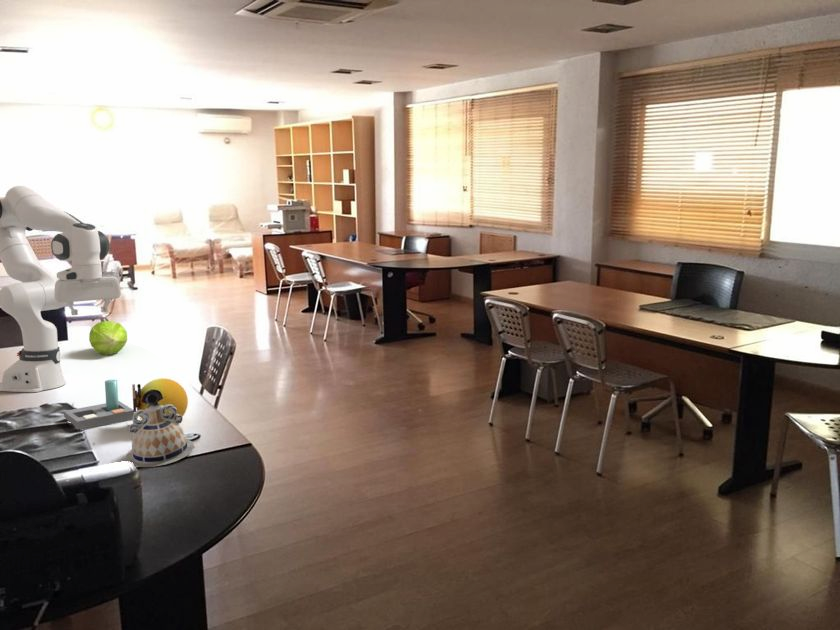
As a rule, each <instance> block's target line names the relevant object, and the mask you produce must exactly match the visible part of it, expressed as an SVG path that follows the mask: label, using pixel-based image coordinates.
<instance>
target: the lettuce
mask: <svg viewBox="0 0 840 630" xmlns="http://www.w3.org/2000/svg"><path fill="white" fill-rule="evenodd" d="M88 337H89V338H88V339H89V344H90V346H91V347H92V348H93V349H94V350H95V351H96V352H97V353H99V354H101V355H103V356H107V355H108V356H109V355H114V354H117V353H119V352H120V351H122V349H123V348H124V347H125V345H126V344H127V342H128V332H127V331H126V329H125V327H124V326H123V325H122V324H121V323H120V322H115V321H112V320H111V321H109V320H103V321H100V322H97V323H96V324H94V325H93V326H92V327H91V328H90V332H89V336H88Z"/></svg>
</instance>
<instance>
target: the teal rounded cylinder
mask: <svg viewBox="0 0 840 630" xmlns="http://www.w3.org/2000/svg"><path fill="white" fill-rule="evenodd" d="M118 387H119V386H118V379H107V380H105V381H104V389H105V403H106V409H107V412H109V411H111V410H116V409H119V404H118V401H119V389H118Z"/></svg>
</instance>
